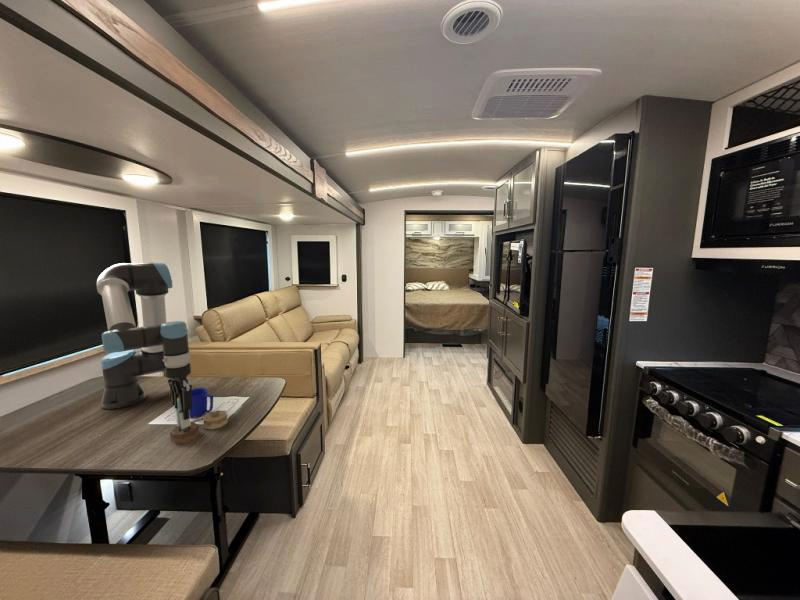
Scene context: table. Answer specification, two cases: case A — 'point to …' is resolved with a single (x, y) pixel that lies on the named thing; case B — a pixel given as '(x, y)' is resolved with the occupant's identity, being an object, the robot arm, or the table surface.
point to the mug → (200, 402)
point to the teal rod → (179, 416)
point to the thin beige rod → (196, 419)
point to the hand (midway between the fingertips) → (184, 425)
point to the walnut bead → (184, 434)
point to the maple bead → (215, 419)
